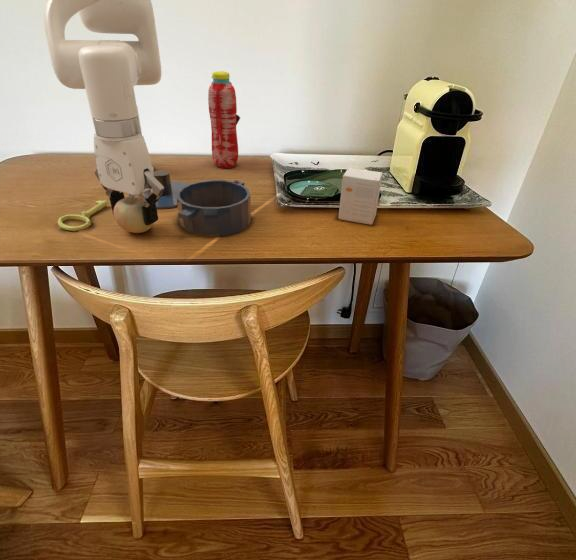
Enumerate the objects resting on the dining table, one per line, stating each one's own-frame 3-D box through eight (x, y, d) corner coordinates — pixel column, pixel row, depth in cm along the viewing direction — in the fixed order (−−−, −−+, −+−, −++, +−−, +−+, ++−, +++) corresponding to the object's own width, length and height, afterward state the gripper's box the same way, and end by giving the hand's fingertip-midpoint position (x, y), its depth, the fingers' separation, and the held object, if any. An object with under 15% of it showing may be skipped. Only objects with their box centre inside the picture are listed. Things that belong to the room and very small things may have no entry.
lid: (114, 201, 94) (108, 176, 91) (161, 180, 106) (157, 157, 103) (168, 217, 88) (164, 191, 85) (211, 193, 101) (209, 169, 97)
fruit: (155, 219, 85) (149, 184, 81) (158, 235, 80) (152, 198, 75) (117, 224, 83) (109, 187, 79) (118, 240, 78) (109, 202, 73)
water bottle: (222, 156, 125) (216, 67, 111) (246, 159, 123) (244, 69, 109) (206, 168, 115) (199, 72, 101) (233, 172, 114) (228, 74, 99)
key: (111, 207, 91) (109, 198, 90) (86, 232, 81) (83, 223, 80) (80, 205, 92) (78, 197, 90) (51, 230, 81) (48, 221, 80)
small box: (376, 215, 93) (383, 172, 87) (372, 225, 89) (380, 180, 83) (342, 209, 95) (348, 166, 89) (337, 219, 91) (342, 174, 85)
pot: (156, 231, 83) (151, 202, 79) (214, 197, 98) (212, 172, 95) (217, 249, 78) (215, 220, 74) (268, 211, 93) (268, 185, 89)
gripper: (65, 124, 70) (89, 215, 80) (139, 139, 64) (156, 236, 74) (99, 116, 76) (118, 202, 86) (170, 129, 70) (182, 220, 80)
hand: (135, 217), depth 80 cm, fingers closed on fruit, 7 cm apart
